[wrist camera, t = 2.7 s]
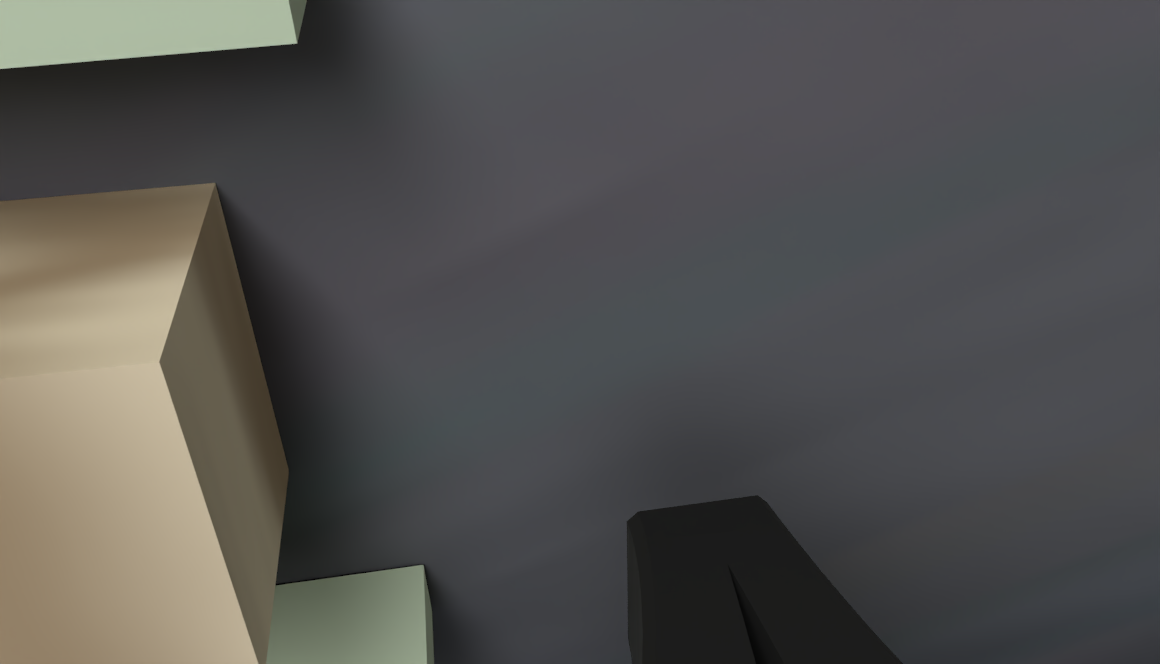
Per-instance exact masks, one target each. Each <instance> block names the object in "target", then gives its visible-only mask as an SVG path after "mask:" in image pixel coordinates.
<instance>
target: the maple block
mask: <svg viewBox="0 0 1160 664" xmlns="http://www.w3.org/2000/svg"><path fill="white" fill-rule="evenodd" d="M288 475H289V469H288V465H287V462H286V458H285V454H284V450H283V446H282V442H281V438H280V434H279V430H278V426H277V422H276V418H275V415H274V411H273V407H272V403H271V399H270V395H269V391H268V387H267V383H266V379H265V375H264V372H263V368H262V364H261V360H260V356H259V352H258V348H257V344H256V340H255V336H254V332H253V328H252V325H251V321H250V317H249V313H248V309H247V305H246V301H245V297H244V293H243V289H242V285H241V281H240V278H239V274H238V270H237V266H236V262H235V258H234V254H233V250H232V246H231V242H230V238H229V235H228V231H227V227H226V223H225V219H224V215H223V211H222V207H221V203H220V199H219V195H218V191H217V188H216V184H215V183H208V184H197V185H185V186H173V187H162V188H150V189H138V190H127V191H115V192H103V193H91V194H80V195H68V196H56V197H45V198H33V199H21V200H10V201H0V664H266V660H267V652H268V643H269V635H270V626H271V618H272V610H273V601H274V593H275V584H276V576H277V568H278V559H279V551H280V542H281V534H282V526H283V517H284V509H285V501H286V492H287V484H288Z"/></svg>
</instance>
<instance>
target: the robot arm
mask: <svg viewBox="0 0 1160 664" xmlns="http://www.w3.org/2000/svg"><path fill="white" fill-rule="evenodd" d="M627 569H628V639H629V645H630V651H631V657H632V664H902V662H901V661H900V660H899V659H898V658H897V657H896V656H895V655H894V654H893V653H892V652H891V650H890V649H889V648H888V647H887V646H886V645H885V644H884V643H883V642H882V641H881V640H880V638H879V637H878V636H877V635H876V634H875V633H874V632H873V631H872V630H871V629H870V628H869V626H868V625H867V624H866V623H865V622H864V621H863V620H862V618H861V617H860V616H859V615H858V614H857V613H856V612H855V610H854V609H853V608H852V607H851V606H850V605H849V604H848V602H847V601H846V600H845V599H844V598H843V597H842V595H841V594H840V593H839V592H838V591H837V589H836V588H835V587H834V586H833V585H832V584H831V582H830V581H829V580H828V579H827V578H826V576H825V575H824V574H823V573H822V572H821V570H820V569H819V568H818V567H817V566H816V564H815V563H814V562H813V561H812V559H811V558H810V557H809V556H808V555H807V553H806V552H805V551H804V550H803V548H802V547H801V546H800V545H799V543H798V542H797V541H796V540H795V538H794V537H793V536H792V534H791V533H790V532H789V531H788V529H787V528H786V527H785V526H784V524H783V523H782V522H781V520H780V519H779V518H778V516H777V515H776V514H775V513H774V511H773V510H772V509H771V507H770V506H769V505H768V503H767V502H765V501H764V500H763V499H761V498H760V497H759V496H758V495H757V496H750V497H743V498H735V499H728V500H721V501H713V502H706V503H699V504H691V505H684V506H677V507H669V508H662V509H655V510H647V511H640V512H637V513H636V514H635V515H634V516H633V517H632V518H630V519H629V520H628V521H627Z"/></svg>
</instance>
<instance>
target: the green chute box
mask: <svg viewBox="0 0 1160 664" xmlns="http://www.w3.org/2000/svg"><path fill="white" fill-rule="evenodd" d="M306 2H307V0H0V69H6V68H17V67H29V66H41V65H52V64H64V63H76V62H88V61H99V60H111V59H123V58H134V57H146V56H158V55H169V54H181V53H193V52H205V51H216V50H228V49H240V48H251V47H263V46H275V45H286V44H297V43H298V38H299V34H300V29H301V25H302V20H303V16H304V11H305V7H306ZM266 664H434V648H433V623H432V608H431V603H430V597H429V592H428V586H427V581H426V575H425V570H424V565H418V566H411V567H404V568H397V569H390V570H383V571H376V572H368V573H361V574H354V575H347V576H340V577H333V578H326V579H318V580H311V581H304V582H297V583H290V584H283V585H276V586H275V593H274V601H273V610H272V618H271V626H270V635H269V643H268V652H267V660H266Z"/></svg>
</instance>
